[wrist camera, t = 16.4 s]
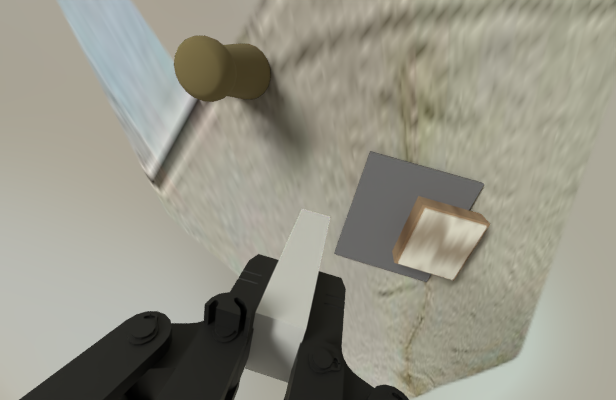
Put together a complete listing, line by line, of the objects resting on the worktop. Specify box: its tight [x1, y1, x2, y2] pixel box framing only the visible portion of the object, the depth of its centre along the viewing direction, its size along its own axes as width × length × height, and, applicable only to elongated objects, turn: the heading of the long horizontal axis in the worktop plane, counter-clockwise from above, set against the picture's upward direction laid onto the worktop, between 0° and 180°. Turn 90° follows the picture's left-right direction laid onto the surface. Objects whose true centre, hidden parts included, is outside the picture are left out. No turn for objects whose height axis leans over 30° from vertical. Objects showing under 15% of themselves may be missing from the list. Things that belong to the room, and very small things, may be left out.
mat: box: [334, 151, 484, 282], centre depth 36 cm, size 16×14×1 cm
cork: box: [174, 36, 271, 102], centre depth 27 cm, size 6×6×11 cm
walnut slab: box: [392, 196, 490, 281], centre depth 34 cm, size 9×3×8 cm
